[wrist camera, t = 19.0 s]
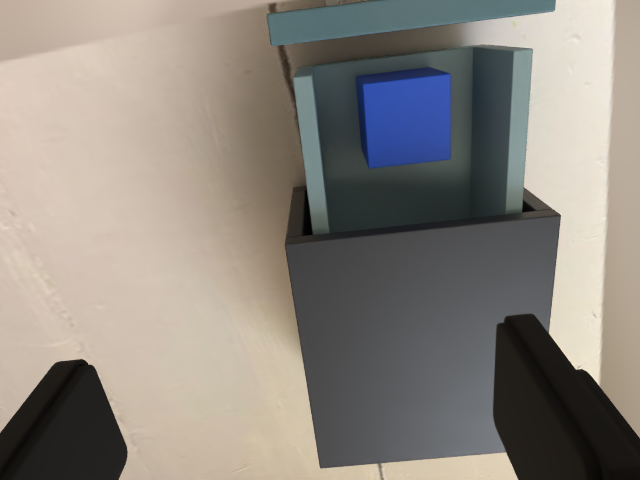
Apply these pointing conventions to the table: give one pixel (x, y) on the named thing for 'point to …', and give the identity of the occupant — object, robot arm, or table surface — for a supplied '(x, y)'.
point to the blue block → (405, 116)
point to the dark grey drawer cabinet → (413, 327)
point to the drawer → (466, 117)
